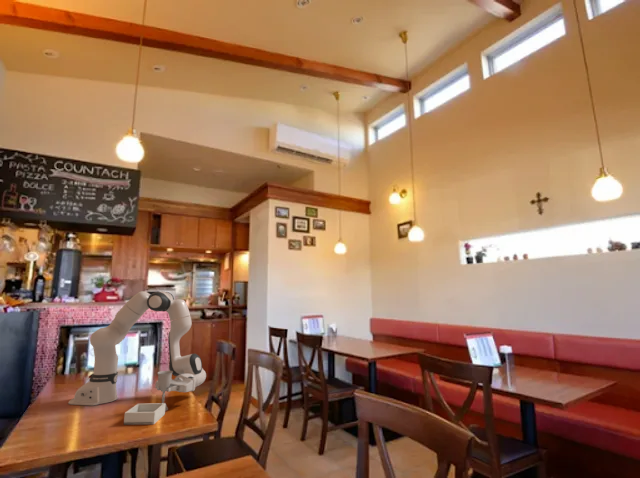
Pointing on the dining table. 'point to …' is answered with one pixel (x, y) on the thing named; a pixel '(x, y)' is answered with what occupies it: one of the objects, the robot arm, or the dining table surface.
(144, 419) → the walled box
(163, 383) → the chalice
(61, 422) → the dining table surface
